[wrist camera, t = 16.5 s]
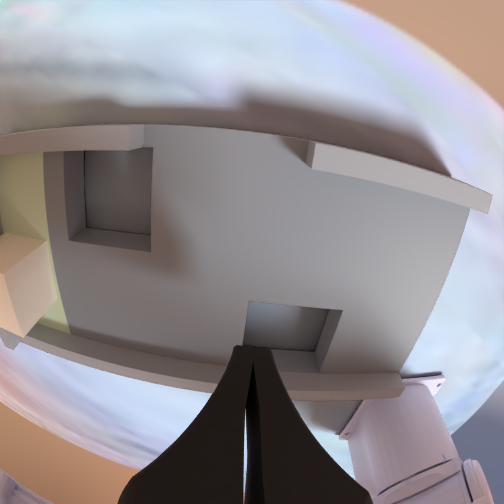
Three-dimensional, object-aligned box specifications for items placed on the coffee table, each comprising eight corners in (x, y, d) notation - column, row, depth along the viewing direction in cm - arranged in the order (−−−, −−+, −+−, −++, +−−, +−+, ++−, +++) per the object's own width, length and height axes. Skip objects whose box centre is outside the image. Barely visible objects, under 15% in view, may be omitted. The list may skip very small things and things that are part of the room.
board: (385, 362, 19) (403, 408, 15) (34, 312, 18) (5, 345, 14) (455, 178, 13) (505, 200, 9) (7, 134, 12) (-41, 145, 8)
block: (57, 299, 15) (23, 337, 11) (16, 286, 15) (-17, 318, 11) (46, 240, 13) (3, 274, 10) (5, 232, 13) (-36, 259, 10)
